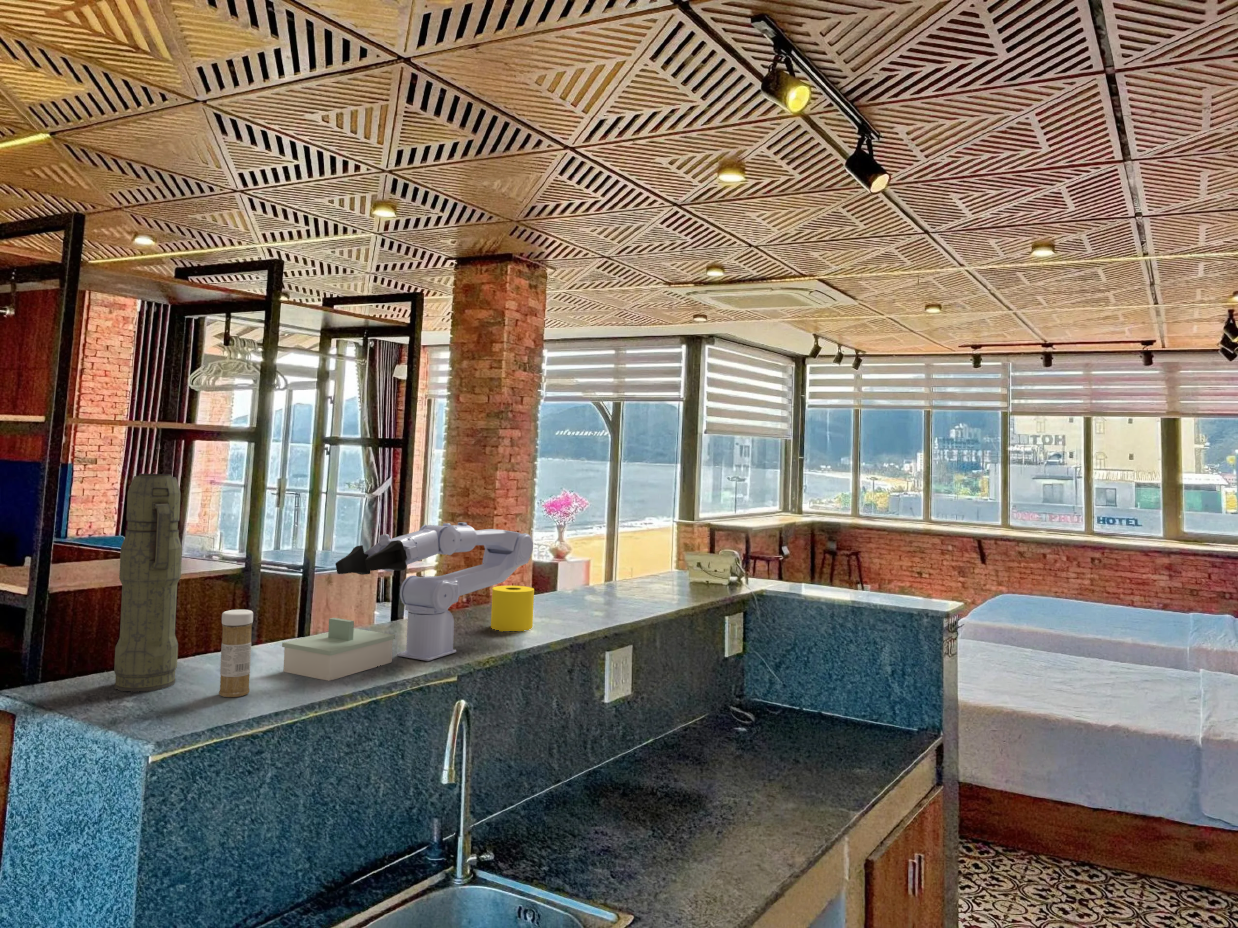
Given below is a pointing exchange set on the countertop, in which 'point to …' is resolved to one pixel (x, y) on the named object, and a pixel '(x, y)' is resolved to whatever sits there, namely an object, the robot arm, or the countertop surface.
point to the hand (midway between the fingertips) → (352, 566)
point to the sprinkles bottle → (235, 653)
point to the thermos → (149, 585)
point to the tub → (337, 661)
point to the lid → (338, 639)
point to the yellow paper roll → (512, 608)
